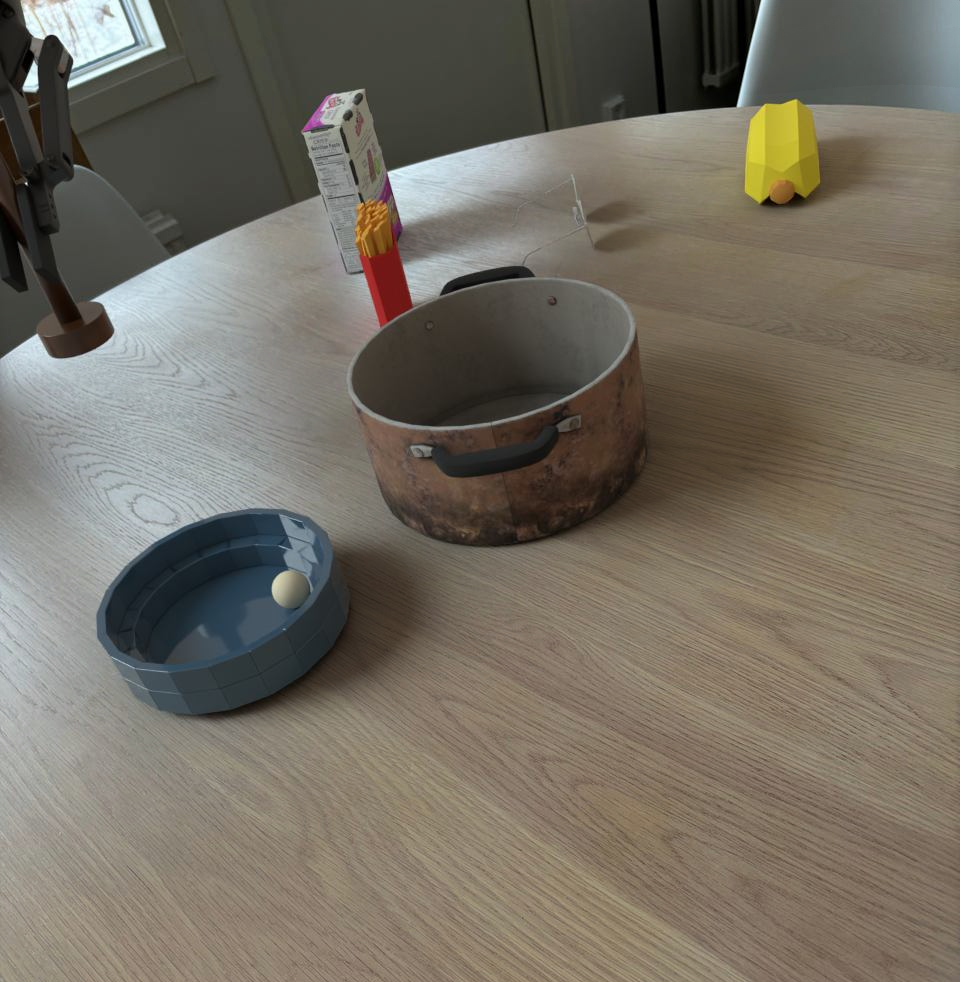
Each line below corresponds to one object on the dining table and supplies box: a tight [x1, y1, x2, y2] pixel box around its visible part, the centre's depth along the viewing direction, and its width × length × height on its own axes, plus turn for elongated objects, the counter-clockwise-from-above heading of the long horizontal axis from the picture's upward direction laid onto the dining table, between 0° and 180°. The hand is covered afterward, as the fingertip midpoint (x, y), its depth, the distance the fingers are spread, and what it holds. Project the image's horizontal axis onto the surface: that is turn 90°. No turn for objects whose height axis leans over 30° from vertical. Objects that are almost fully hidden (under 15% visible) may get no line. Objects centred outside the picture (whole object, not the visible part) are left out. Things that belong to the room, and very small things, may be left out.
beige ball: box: [272, 570, 310, 609], centre depth 77 cm, size 3×3×3 cm
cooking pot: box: [345, 265, 649, 547], centre depth 83 cm, size 30×22×11 cm
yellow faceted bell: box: [744, 98, 821, 205], centre depth 114 cm, size 18×7×8 cm
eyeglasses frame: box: [511, 173, 596, 266], centre depth 116 cm, size 14×8×5 cm, turn 2°
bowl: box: [95, 507, 351, 716], centre depth 76 cm, size 17×17×5 cm
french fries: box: [355, 199, 414, 328], centre depth 106 cm, size 8×4×12 cm, turn 7°
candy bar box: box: [300, 88, 404, 275], centre depth 120 cm, size 11×5×16 cm, turn 171°
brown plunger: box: [0, 151, 115, 360], centre depth 79 cm, size 6×6×18 cm
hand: (31, 280), depth 77 cm, fingers closed on brown plunger, 2 cm apart
